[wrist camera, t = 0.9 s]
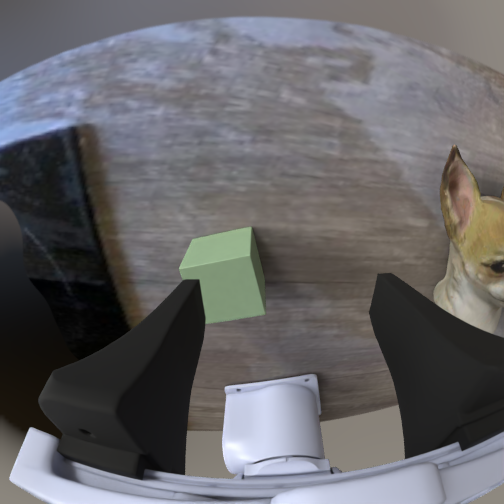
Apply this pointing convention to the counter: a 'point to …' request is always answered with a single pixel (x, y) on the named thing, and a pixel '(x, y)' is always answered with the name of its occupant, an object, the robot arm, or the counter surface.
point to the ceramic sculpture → (471, 248)
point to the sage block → (227, 275)
